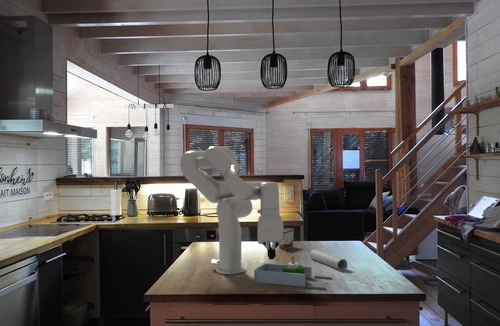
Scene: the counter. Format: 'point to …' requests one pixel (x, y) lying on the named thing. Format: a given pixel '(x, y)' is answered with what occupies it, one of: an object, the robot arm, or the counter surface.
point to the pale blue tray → (280, 275)
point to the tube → (329, 259)
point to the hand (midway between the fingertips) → (271, 258)
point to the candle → (293, 267)
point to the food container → (287, 238)
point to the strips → (319, 287)
